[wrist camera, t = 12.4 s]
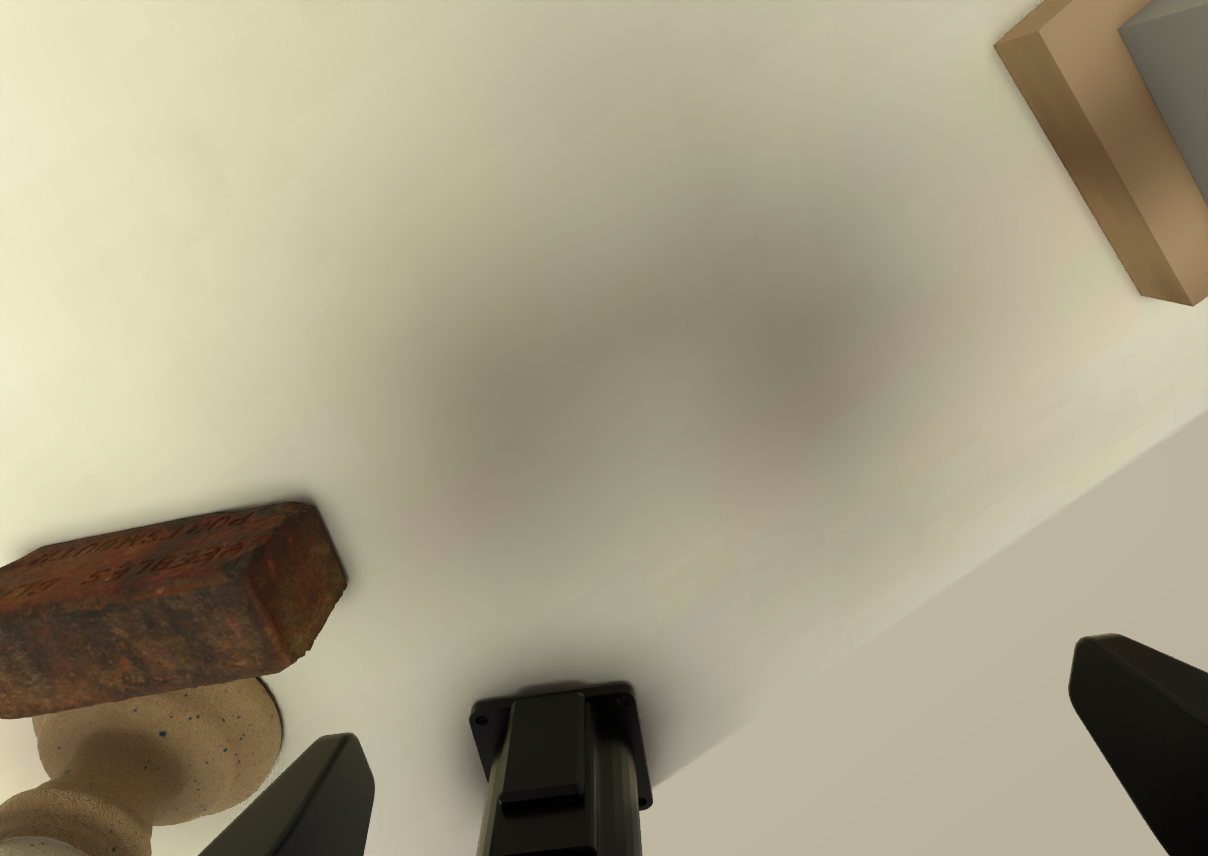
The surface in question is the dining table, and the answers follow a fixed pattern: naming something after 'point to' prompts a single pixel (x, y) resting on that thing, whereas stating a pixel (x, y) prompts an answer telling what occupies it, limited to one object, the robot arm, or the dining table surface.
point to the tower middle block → (1176, 73)
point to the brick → (164, 608)
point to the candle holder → (141, 769)
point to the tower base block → (1113, 141)
